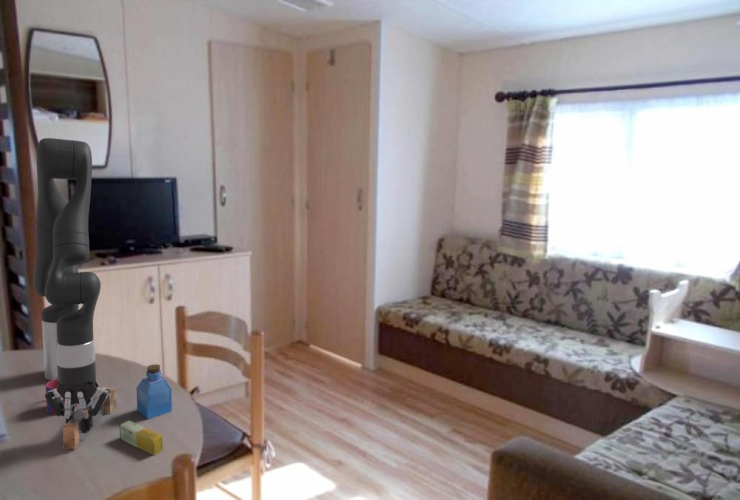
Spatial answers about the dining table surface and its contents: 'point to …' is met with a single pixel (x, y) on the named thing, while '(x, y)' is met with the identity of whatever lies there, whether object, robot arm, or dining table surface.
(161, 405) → the perfume bottle
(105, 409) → the block
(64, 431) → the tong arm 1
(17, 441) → the dining table surface
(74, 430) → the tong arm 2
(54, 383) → the mug
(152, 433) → the medication box
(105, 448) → the dining table surface
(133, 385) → the dining table surface
